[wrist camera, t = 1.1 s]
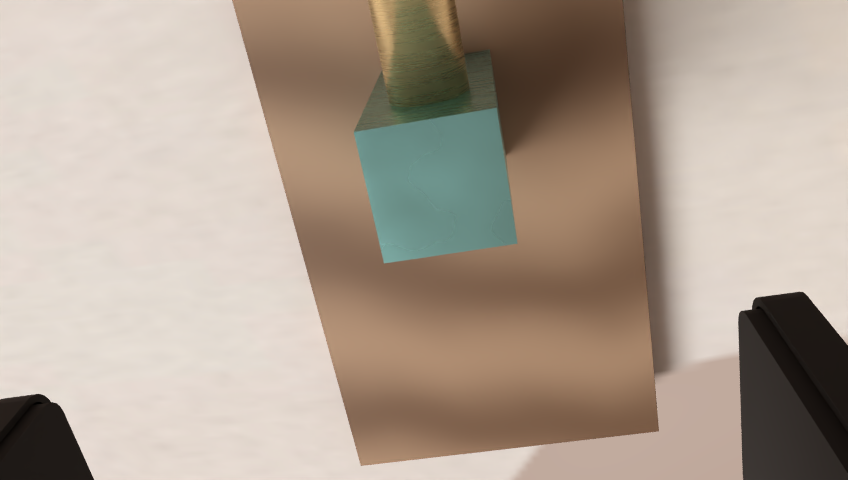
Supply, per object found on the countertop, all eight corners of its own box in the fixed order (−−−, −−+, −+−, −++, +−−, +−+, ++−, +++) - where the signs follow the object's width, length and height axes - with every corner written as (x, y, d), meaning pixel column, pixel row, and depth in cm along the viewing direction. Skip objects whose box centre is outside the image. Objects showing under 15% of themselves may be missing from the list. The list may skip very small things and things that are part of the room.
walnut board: (115, -473, 21) (96, -491, 20) (564, -597, 20) (570, -624, 19) (364, 446, 34) (361, 465, 33) (652, 412, 32) (659, 431, 31)
